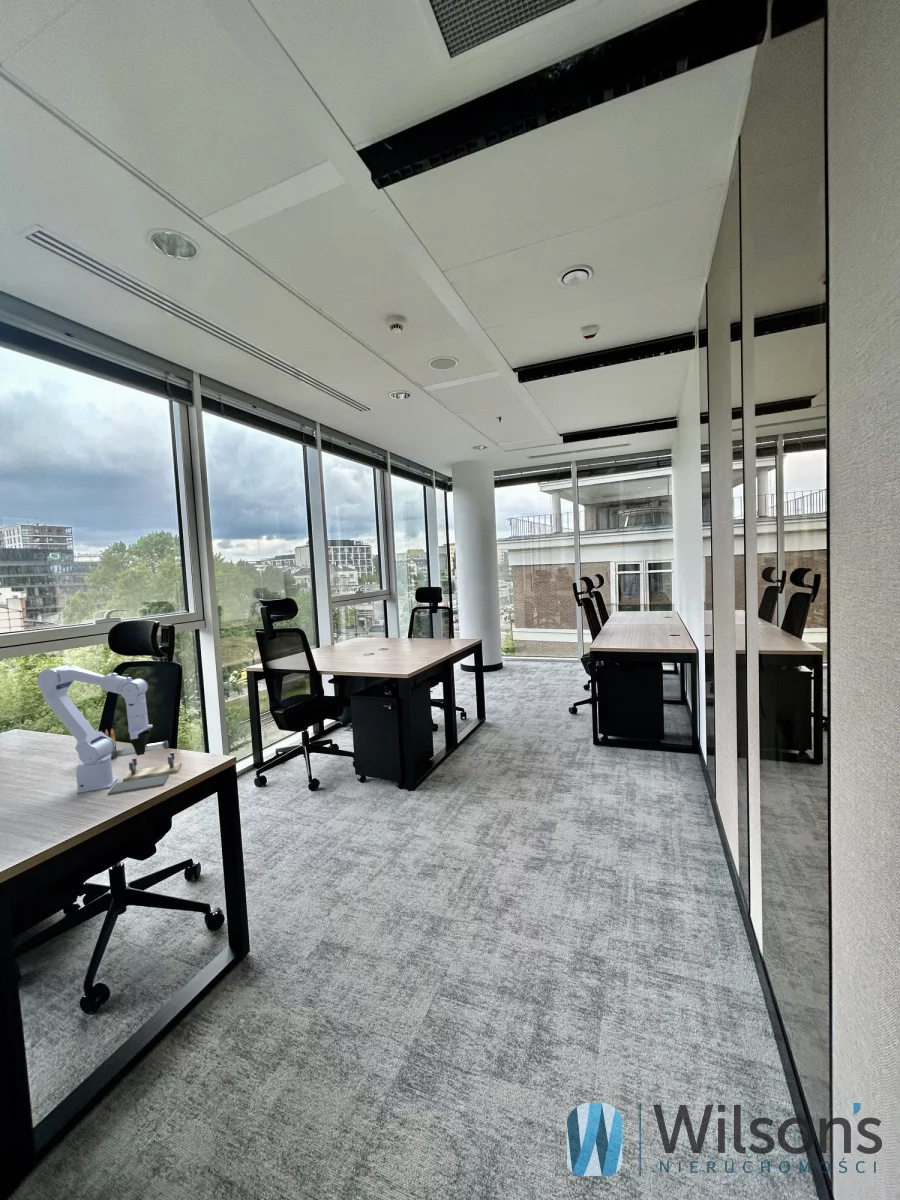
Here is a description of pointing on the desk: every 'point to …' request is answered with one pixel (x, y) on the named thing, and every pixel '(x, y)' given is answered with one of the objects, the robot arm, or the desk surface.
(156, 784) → the rubber mat
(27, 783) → the desk surface
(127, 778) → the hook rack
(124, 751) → the rail
